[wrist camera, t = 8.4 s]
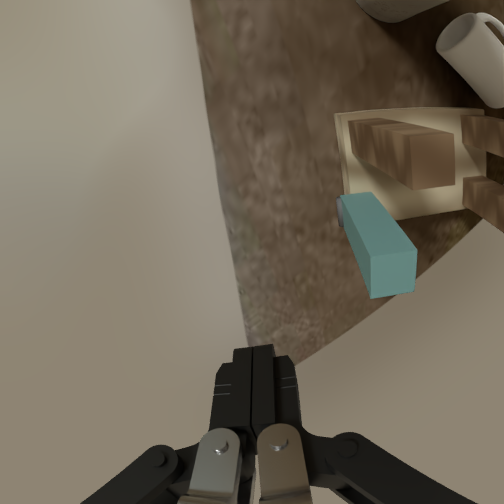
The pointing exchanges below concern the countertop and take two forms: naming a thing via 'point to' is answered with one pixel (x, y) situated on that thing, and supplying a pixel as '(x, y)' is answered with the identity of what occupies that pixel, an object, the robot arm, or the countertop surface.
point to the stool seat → (423, 160)
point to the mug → (476, 55)
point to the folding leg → (378, 245)
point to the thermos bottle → (396, 8)
